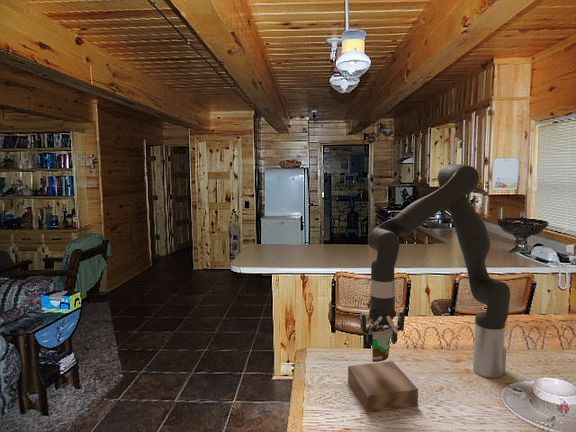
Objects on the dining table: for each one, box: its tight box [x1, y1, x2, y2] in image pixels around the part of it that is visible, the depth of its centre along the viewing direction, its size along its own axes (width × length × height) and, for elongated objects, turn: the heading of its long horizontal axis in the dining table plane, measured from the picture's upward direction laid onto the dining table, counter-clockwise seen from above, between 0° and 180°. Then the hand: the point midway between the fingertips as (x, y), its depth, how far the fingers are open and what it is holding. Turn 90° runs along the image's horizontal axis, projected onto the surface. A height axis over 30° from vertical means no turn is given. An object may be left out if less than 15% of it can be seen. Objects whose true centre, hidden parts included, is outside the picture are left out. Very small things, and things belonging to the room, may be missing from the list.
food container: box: [371, 324, 393, 363], centre depth 131 cm, size 12×6×10 cm, turn 169°
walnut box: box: [347, 360, 419, 414], centre depth 133 cm, size 16×18×6 cm
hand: (381, 343), depth 131 cm, fingers closed on food container, 7 cm apart
